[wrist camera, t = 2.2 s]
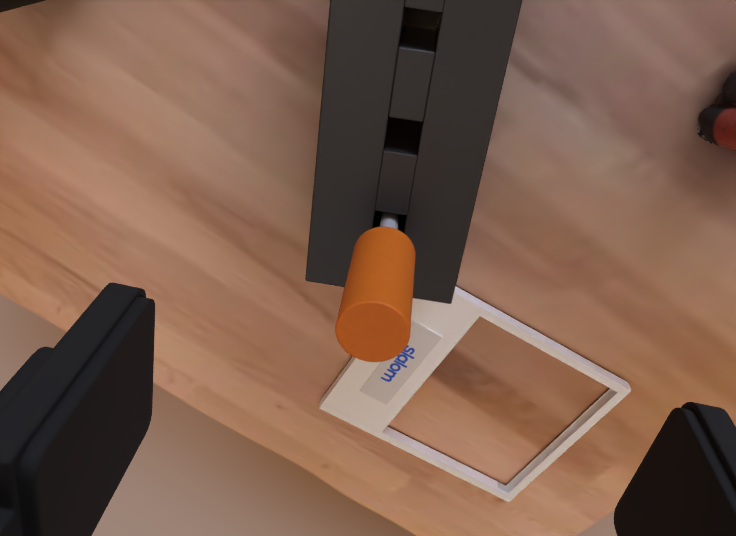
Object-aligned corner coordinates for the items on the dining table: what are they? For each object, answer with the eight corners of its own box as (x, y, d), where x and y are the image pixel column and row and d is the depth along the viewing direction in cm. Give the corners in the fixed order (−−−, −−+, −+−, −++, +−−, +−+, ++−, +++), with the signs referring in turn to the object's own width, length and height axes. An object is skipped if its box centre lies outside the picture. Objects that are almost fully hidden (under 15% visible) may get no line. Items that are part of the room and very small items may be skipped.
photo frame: (419, 274, 42) (632, 392, 46) (419, 266, 43) (628, 382, 47) (318, 409, 49) (509, 504, 53) (320, 400, 50) (507, 493, 54)
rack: (521, -67, 33) (536, -60, 28) (449, 255, 43) (451, 304, 38) (353, -92, 33) (337, -89, 28) (321, 235, 43) (305, 281, 38)
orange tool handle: (423, 166, 40) (415, 308, 26) (415, 211, 42) (403, 368, 28) (373, 158, 40) (339, 295, 26) (367, 204, 42) (331, 356, 28)
